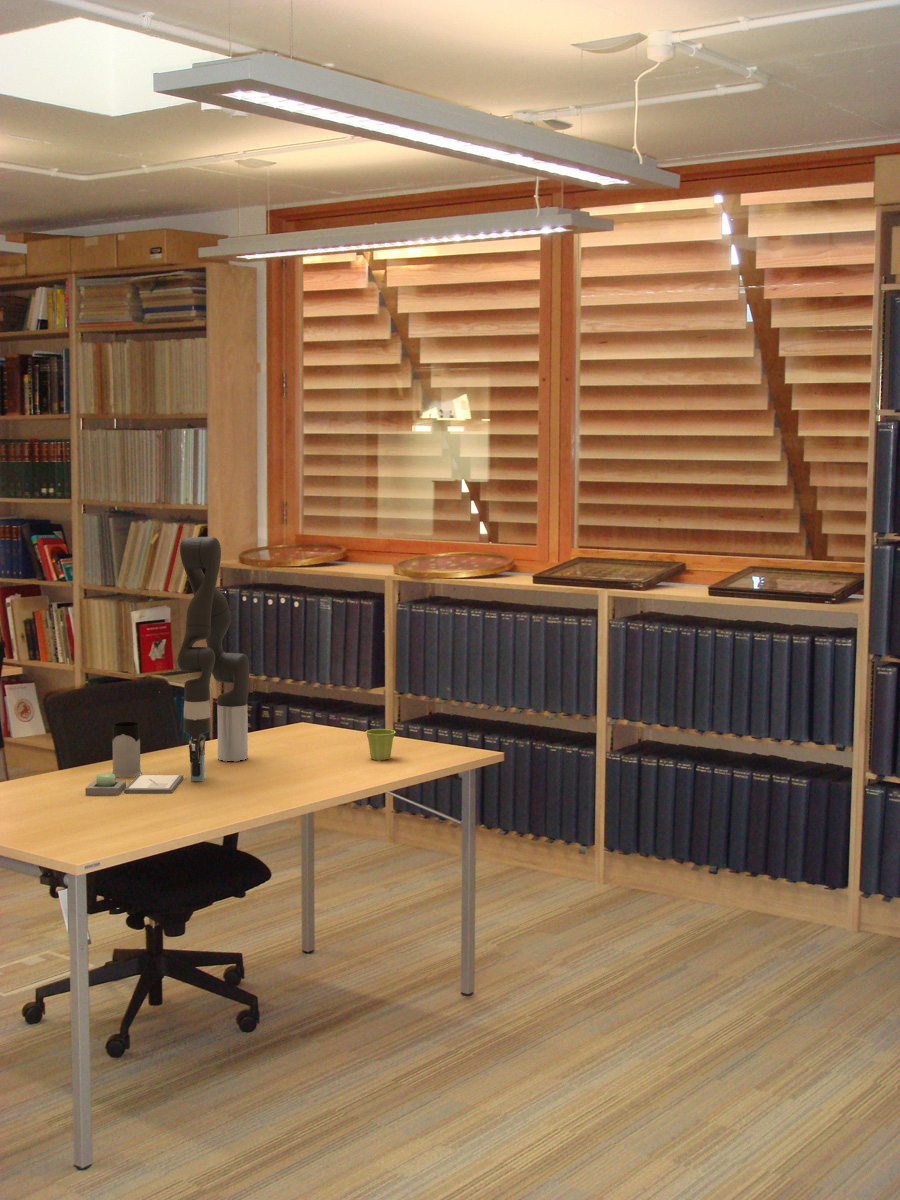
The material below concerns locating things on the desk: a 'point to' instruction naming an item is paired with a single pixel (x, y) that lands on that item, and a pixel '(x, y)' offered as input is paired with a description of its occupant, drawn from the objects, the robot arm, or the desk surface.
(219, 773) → the desk surface
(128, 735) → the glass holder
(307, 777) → the desk surface
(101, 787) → the button housing
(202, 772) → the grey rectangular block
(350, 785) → the desk surface
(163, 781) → the whiteboard
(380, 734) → the plant pot
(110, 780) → the button
